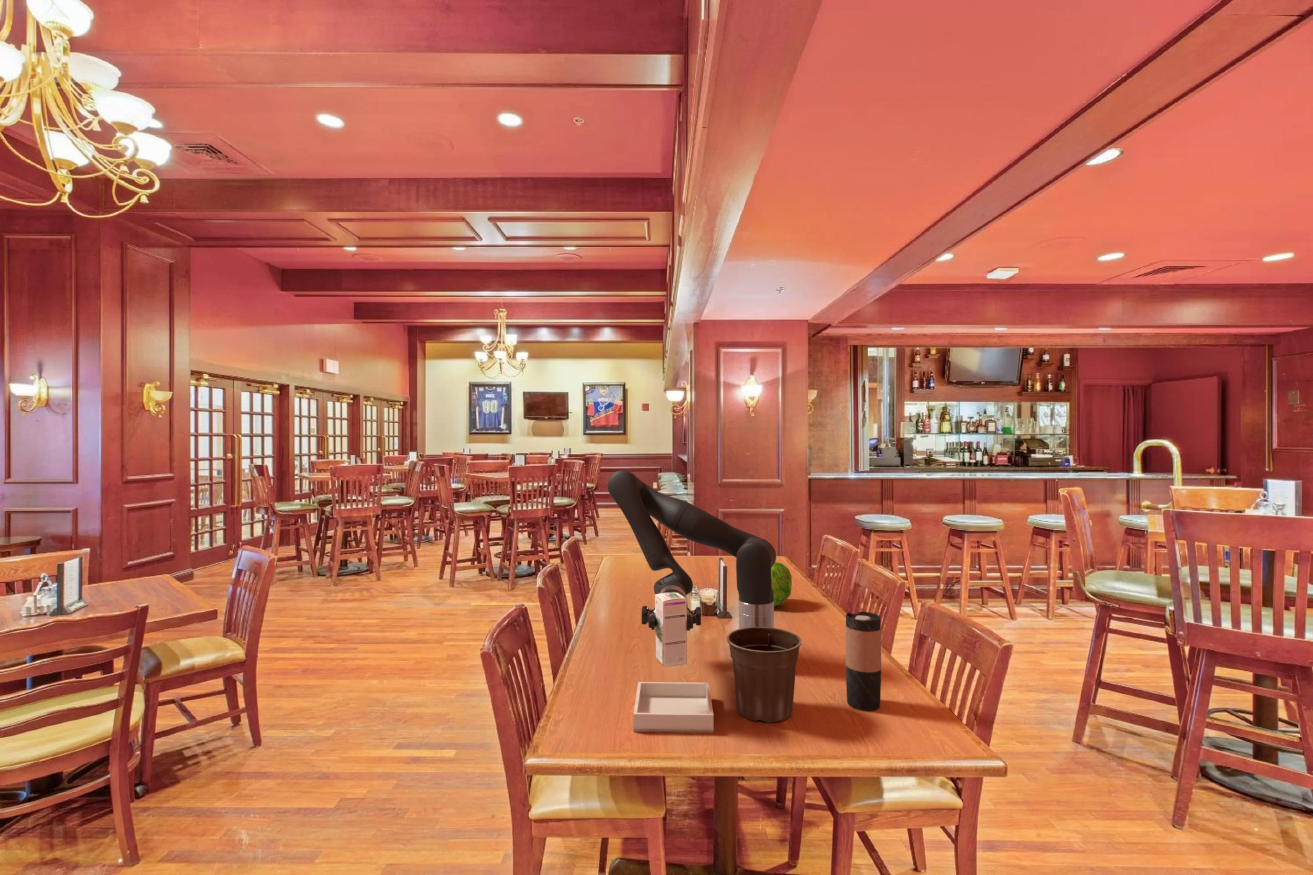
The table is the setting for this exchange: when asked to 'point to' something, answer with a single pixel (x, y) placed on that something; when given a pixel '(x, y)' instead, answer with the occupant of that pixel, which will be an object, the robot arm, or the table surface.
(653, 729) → the tray
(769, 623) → the robot arm
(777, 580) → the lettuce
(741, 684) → the plant pot
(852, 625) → the travel mug
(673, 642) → the syrup box
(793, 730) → the table surface
